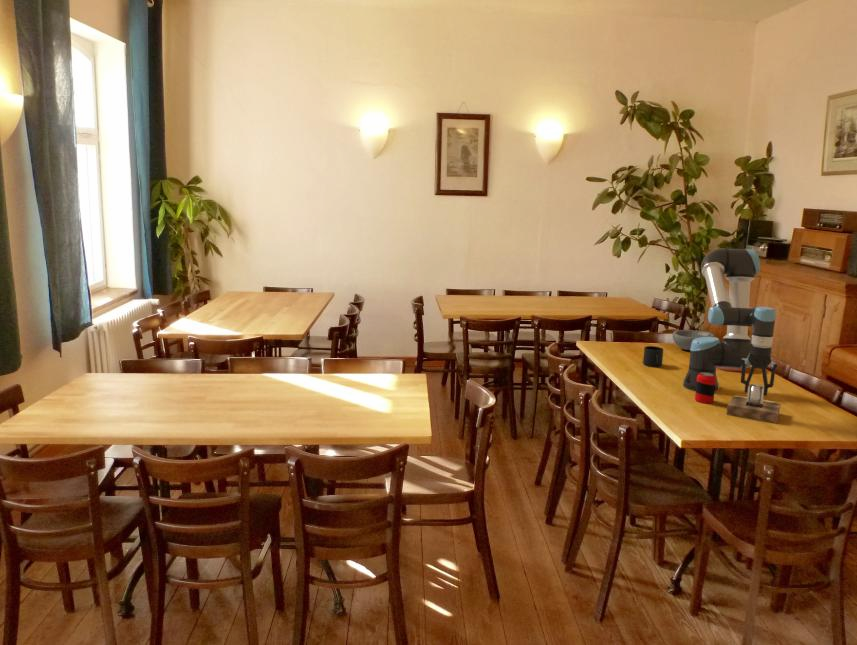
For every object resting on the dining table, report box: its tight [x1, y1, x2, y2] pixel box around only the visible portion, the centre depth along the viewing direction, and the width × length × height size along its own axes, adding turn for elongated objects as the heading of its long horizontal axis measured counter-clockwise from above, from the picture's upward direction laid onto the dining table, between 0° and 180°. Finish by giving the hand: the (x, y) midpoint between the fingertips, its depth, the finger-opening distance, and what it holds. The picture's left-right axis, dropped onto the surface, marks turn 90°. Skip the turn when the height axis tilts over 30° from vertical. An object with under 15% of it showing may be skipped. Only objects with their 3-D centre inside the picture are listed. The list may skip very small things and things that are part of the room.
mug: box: [642, 345, 664, 368], centre depth 342 cm, size 9×12×9 cm
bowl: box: [672, 329, 716, 352], centre depth 379 cm, size 23×22×10 cm
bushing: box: [748, 383, 764, 408], centre depth 267 cm, size 4×4×10 cm
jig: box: [726, 395, 781, 424], centre depth 268 cm, size 18×14×5 cm
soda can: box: [694, 372, 716, 404], centre depth 284 cm, size 8×8×12 cm
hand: (754, 401), depth 268 cm, fingers closed on bushing, 4 cm apart
